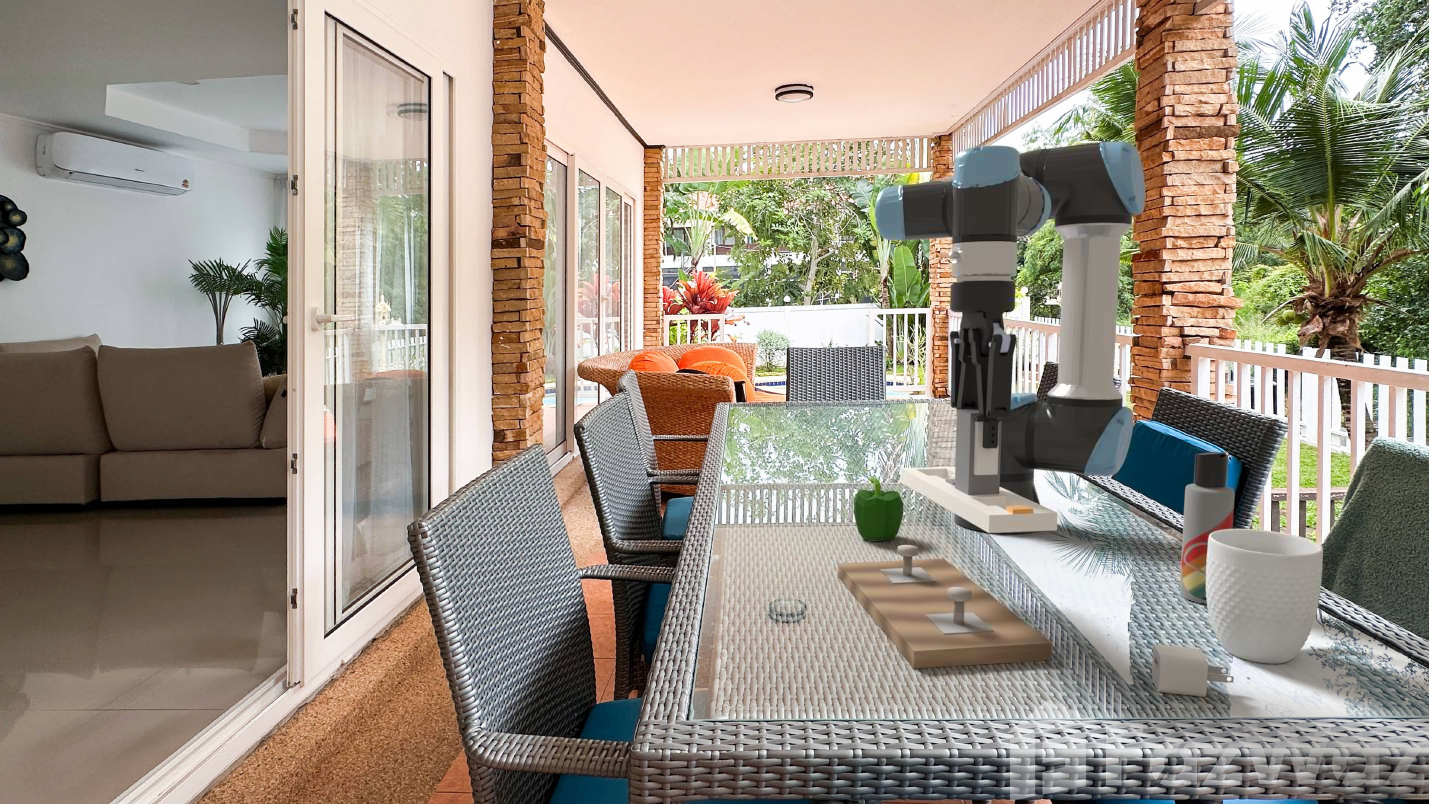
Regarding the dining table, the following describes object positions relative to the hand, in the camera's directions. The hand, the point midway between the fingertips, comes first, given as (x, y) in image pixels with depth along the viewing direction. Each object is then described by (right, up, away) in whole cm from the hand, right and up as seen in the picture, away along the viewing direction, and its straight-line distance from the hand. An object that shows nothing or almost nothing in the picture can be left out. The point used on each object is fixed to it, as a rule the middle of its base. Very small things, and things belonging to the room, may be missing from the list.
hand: (977, 470), depth 108 cm
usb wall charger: (+17, -22, -18) cm, 33 cm away
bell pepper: (-5, -15, +40) cm, 43 cm away
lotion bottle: (+33, -18, +9) cm, 39 cm away
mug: (+30, -20, -8) cm, 37 cm away
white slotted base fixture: (0, -4, +2) cm, 5 cm away
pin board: (-5, -19, +5) cm, 20 cm away
